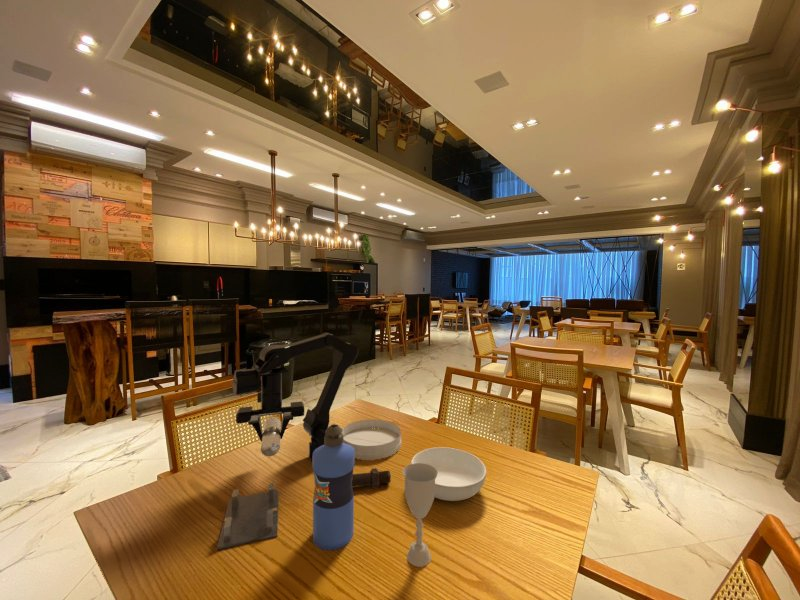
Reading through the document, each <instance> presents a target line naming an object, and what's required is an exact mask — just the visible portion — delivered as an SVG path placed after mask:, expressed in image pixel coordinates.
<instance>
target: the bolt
mask: <svg viewBox="0 0 800 600" xmlns="http://www.w3.org/2000/svg"><path fill="white" fill-rule="evenodd" d="M391 481H392V477H391V472H390V470H382V471H381V470H379V469H377V468H371V469H370V471H369V472H363V473H353V477H352V488H354V487H355V488H356V487H363V486H371V488H372V489H375V488H379V486H380V485H381V484H389V483H391Z"/></svg>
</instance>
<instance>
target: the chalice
mask: <svg viewBox="0 0 800 600" xmlns="http://www.w3.org/2000/svg"><path fill="white" fill-rule="evenodd" d="M437 474H438V472H437V470H436V469H435V468H434V467H432V466H430V465H427V464H422V463H415V464H411V463H410V464H408V465H405V467H403V469H402V475H403V478H404V496H405V500H406V503H407V506H408V508H409V510H410V511H411V514H412V516H413V517H415V518H416V519H417V520H416V523H415V527H416V531H415V532H414V534H415V535H414V536H416V540H415V541H413V542H412V543H411V545H410V546H409V549H408V552H407V553H406V559H407V561H408V562H409V564H410V565H412V566H415V567H417V568H423V567H426V566H428V564H430V563H431V560H432V554H431V553H430V550H429V548H428V545H427V544H426V543H425V542H424V541H423V540H422V537H424V532H423V530H422V529H423V528H424V523H423V520H422V519H424V518H426V516H427V515H428V513H429V511H430V510H431V508H432V505H433V503H434V500H435V479H436V477H437Z"/></svg>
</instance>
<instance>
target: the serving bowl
mask: <svg viewBox="0 0 800 600" xmlns="http://www.w3.org/2000/svg"><path fill="white" fill-rule="evenodd" d="M415 463H422V464H427V465H430V466H432V467H434V468H435V469H436V470H437V472H438V474H437V477H436V479H435V497H434V499H435V498H436V499H439V500H441V501H442V500H443V501H448V502H449V501H450V502H458V501H462V500H463V501H464V500H467V499H469V498H473V497H474V496H475V495H476V494H478V492H480V491H481V489H482V488H483V487H484V484H485V481H486V476H487V467H486V465H485V464H484V463H483V461H482V460H481V459H479V458H478V456H476V455H474V454H472V453H470V452H468V451H465V450H462V449H458V448H453V447H447V446H445V447H444V446H443V447H442V446H440V447H439V446H437V447H431V448H425V449H423V450H421V451H419V452H417V453H416V454H415V455H414V456H413V457H412V458H411V461H410V464H415Z"/></svg>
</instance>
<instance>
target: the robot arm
mask: <svg viewBox="0 0 800 600" xmlns="http://www.w3.org/2000/svg"><path fill="white" fill-rule="evenodd" d="M326 347H327V348H329V349H330V350H332V351H333V354H332V367H331V369H330V371H329V374H328V376H327V377H326V378H327V379H326V381H325V383H324V386H323V389H321V390H322V391H321V392H320V396H319V398H318V401H317V403H316V405H315V406H314V407H313V408H312V409H309V408H308V409H307V410H306V413H305V404H304V402H303V401H294V402H293V401H292V402H290V406H289V405H288V406H282V405H283V395H282V394H283V390H282V389H283V386H282V385H283V384H282V383H283V382H282V381H283V379H282V378H283V376H282V375H283V374H285V373H286V374H287V373H289V372H290V370H289V369H288V368H287V367H286V366H285V365H284V364H287V363H288V362H289V361H291V360H292V359H294V358H295V357H298V356H301V355H305V354H307V353H310V352H314V351H316V350H320V349H323V348H326ZM358 355H359V349H358V347H357V345H355V344H354V343H350V342H345V341H344V340H341V339H340V338H338V337H336V336H335V335H334V334H333V333H330V332H323V333H321V334H319V335H315V336H312V337H309V338H305V339H303V340H298V341H296V342H292V343H288V344H275V345H267V346H264V347H263V348H261V351H260V352H259V355H258V356H259V357H258V358H257V360H256V361H255V363H254V364H253V365H252V366H251V368H248V369H237V370H234V374H233V377H232V380H231V381H232V385H231V386H232V391H233V392H232V393H233V394H234V396H239V395H243V394H244V395H245V394H251V393H256V392H257V391H258V390H260V388H261V390H260V391H258V392H257V403H258V404H260V403H261V405H260V407H261V409H254V407H253V406H252V405H251V406H244V407H243V406H242V407H239V408H238V409H237V412H236V415H235V423H236V424H246V423H248V425H249V426H252V427H253V429H254V430H255V432H256V434H257V436H258V438H259V440H260V442H261V443H262V435H263V428H262V417H264V416H265V417H266V416H272V415H275V416H276V415H282V419H281V420H282V421H281V430H280V432H281V435H280V440H282V439H283V437H284V434H285V431H286V429H287V428H288V427H287V426H288V425H289V424H290V421H293V420H294V418H296V417H297V418H298V417H303V419H302V421H303V424H302V426H303V430H304V431H305V432H306V433H308V436H311V437H310V441H309V442H308V456H309V459H310V462H311V463H312V455H313V452H314V450H315V449H317V448H318V447H320V446H322V445H325V444H324V436H325V435H326V433H325V431H326V430H327V429H328V427H329V426H330V411H331V407H332V406H333V405H334V404H333V403H334V400H336V399H335V398H336V396H337V394H338V390H339V389H340V386H341V384H342V382H343V379H344V376H345V373H346V372H347V371H348V369H349V368H350V367H351V366H352V365H353V364H354V362H355V360H356V359H357V357H358Z"/></svg>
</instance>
